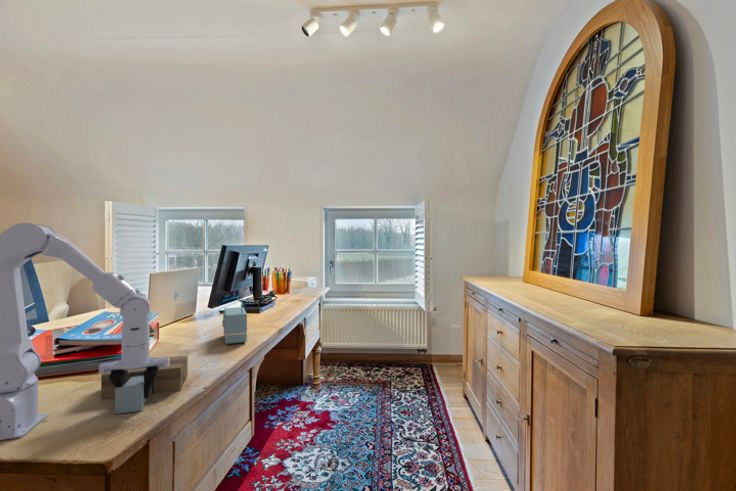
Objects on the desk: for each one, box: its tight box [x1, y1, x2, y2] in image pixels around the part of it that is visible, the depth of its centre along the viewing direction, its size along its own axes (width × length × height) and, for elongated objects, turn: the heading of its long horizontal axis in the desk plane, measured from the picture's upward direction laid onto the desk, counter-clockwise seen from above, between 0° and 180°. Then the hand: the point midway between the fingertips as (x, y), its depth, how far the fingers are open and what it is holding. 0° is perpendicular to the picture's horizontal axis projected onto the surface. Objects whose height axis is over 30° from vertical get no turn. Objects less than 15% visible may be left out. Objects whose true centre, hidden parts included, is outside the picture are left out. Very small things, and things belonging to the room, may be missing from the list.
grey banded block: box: [221, 293, 248, 345], centre depth 140 cm, size 16×9×20 cm, turn 25°
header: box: [100, 355, 189, 400], centre depth 94 cm, size 10×18×6 cm, turn 109°
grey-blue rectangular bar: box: [114, 373, 154, 415], centre depth 87 cm, size 17×5×6 cm, turn 19°
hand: (135, 398), depth 84 cm, fingers closed on grey-blue rectangular bar, 4 cm apart
